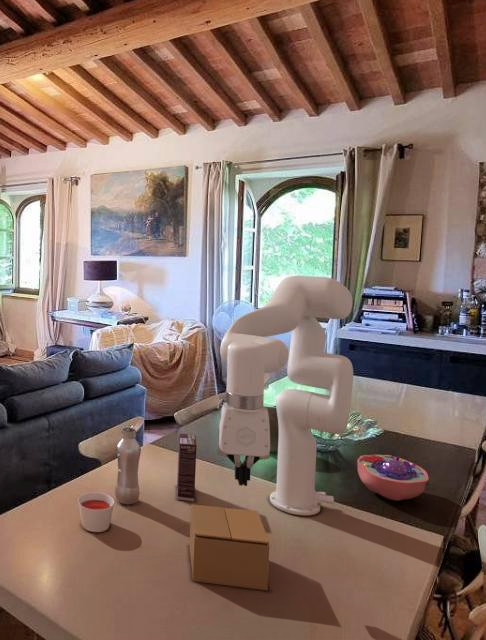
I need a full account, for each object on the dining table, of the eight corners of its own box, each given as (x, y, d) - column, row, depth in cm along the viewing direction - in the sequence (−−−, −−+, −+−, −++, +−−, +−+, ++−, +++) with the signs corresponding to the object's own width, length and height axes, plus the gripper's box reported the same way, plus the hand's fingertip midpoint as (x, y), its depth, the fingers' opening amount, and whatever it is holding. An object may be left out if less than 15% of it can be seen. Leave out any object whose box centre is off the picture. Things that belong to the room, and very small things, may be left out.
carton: (256, 554, 119) (257, 510, 118) (267, 590, 107) (269, 542, 106) (189, 546, 122) (190, 504, 121) (193, 581, 109) (194, 533, 108)
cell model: (418, 486, 155) (420, 449, 154) (432, 518, 137) (435, 475, 136) (353, 475, 162) (355, 439, 161) (358, 503, 144) (361, 463, 143)
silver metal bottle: (112, 496, 146) (114, 425, 144) (136, 495, 146) (138, 425, 145) (117, 507, 139) (118, 434, 138) (142, 507, 140) (144, 433, 139)
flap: (257, 512, 118) (257, 511, 118) (269, 543, 106) (269, 542, 106) (224, 509, 120) (224, 507, 120) (231, 540, 107) (231, 538, 107)
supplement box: (195, 502, 143) (197, 445, 142) (177, 500, 144) (178, 443, 143) (193, 487, 152) (195, 434, 150) (176, 486, 152) (178, 432, 151)
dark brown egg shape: (294, 448, 183) (296, 406, 182) (287, 462, 171) (289, 417, 170) (252, 439, 190) (254, 399, 189) (242, 452, 179) (244, 409, 178)
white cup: (88, 538, 124) (89, 513, 124) (71, 520, 132) (71, 496, 132) (120, 530, 128) (121, 505, 128) (101, 513, 136) (101, 489, 136)
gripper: (210, 403, 109) (207, 488, 110) (286, 407, 106) (282, 494, 108) (206, 392, 116) (204, 472, 118) (277, 396, 114) (274, 478, 115)
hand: (242, 482), depth 113 cm, fingers closed
